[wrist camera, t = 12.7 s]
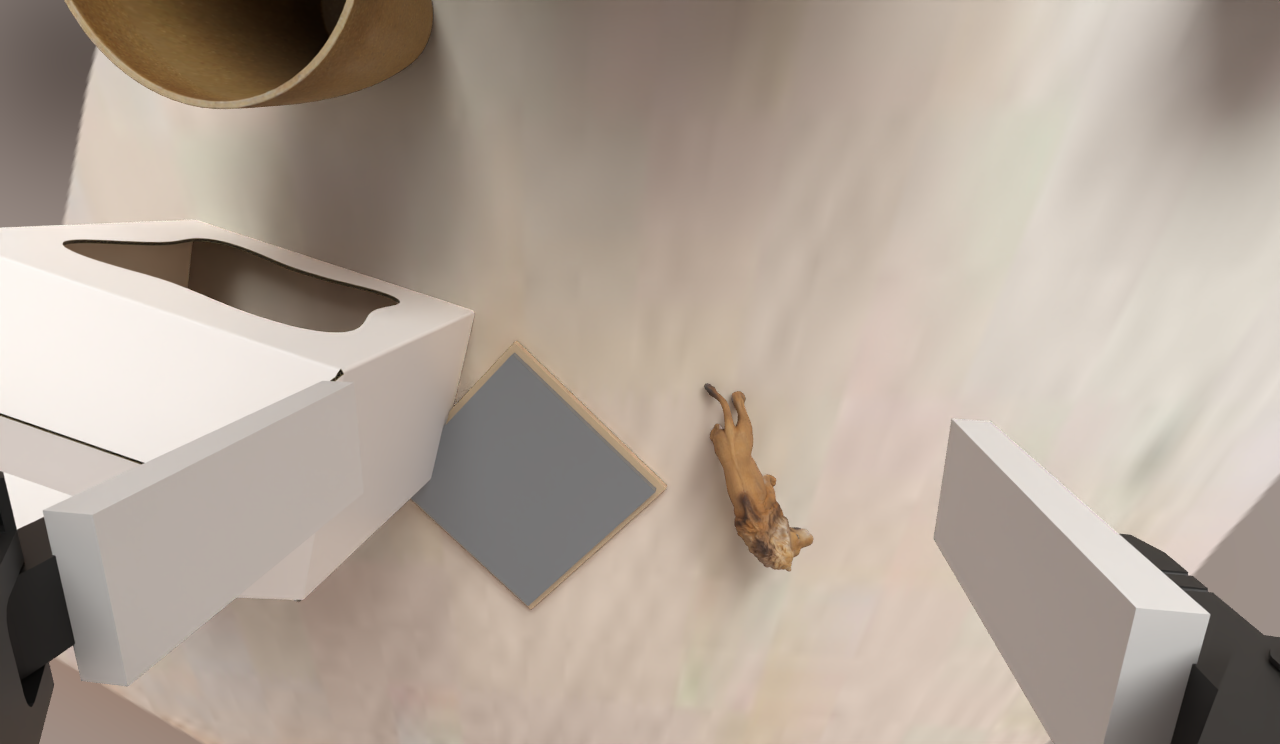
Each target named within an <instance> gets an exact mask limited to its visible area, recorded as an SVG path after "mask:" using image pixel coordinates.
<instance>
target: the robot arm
mask: <svg viewBox="0 0 1280 744" xmlns="http://www.w3.org/2000/svg"><path fill="white" fill-rule="evenodd" d="M363 493H364V488H363V477H362V466H361V455H360V444H359V433H358V422H357V411H356V400H355V389H354V382H337V381H321V382H319V383H316V384H314V385H312V386H310V387H308V388H306V389H303V390H301V391H299V392H297V393H295V394H293V395H290V396H288V397H286V398H284V399H282V400H280V401H278V402H275V403H273V404H271V405H269V406H267V407H265V408H262V409H260V410H258V411H256V412H254V413H252V414H249V415H247V416H245V417H243V418H241V419H239V420H236V421H234V422H232V423H230V424H228V425H226V426H224V427H221V428H219V429H217V430H215V431H213V432H211V433H208V434H206V435H204V436H202V437H200V438H198V439H195V440H193V441H191V442H189V443H187V444H185V445H182V446H180V447H178V448H176V449H174V450H172V451H169V452H167V453H165V454H163V455H161V456H159V457H157V458H154V459H152V460H150V461H148V462H146V463H144V464H141V465H139V466H137V467H135V468H133V469H131V470H128V471H126V472H124V473H122V474H120V475H118V476H115V477H113V478H111V479H109V480H107V481H105V482H103V483H100V484H98V485H96V486H94V487H92V488H90V489H87V490H85V491H83V492H81V493H79V494H77V495H74V496H72V497H70V498H68V499H66V500H64V501H61V502H59V503H57V504H55V505H53V506H51V507H49V508H46V509H44V510H42V511H43V515H44V517H42V518H40V519H38V520H36V521H34V522H32V523H30V524H28V525H25V526H23V527H21V528H19V529H17V527H16V523H15V519H14V515H13V511H12V506H11V502H10V498H9V494H8V490H7V486H6V481H5V477H4V473H3V472H2V471H0V744H39V742H40V738H41V733H42V730H43V726H44V722H45V718H46V714H47V711H48V707H49V703H50V699H51V695H52V691H53V687H54V683H53V678H52V673H51V669H50V665H49V661H51V660H52V659H53V658H55V657H57V656H58V655H60V654H61V653H62V652H64V651H65V650H67V649H68V648H70V647H71V646H73V647H74V651H75V656H76V660H77V665H78V669H79V673H80V678H81V681H87V682H95V683H103V684H111V685H120V686H129V685H130V684H132V683H133V682H134V681H135V680H137V679H138V678H139V677H140V676H141V675H143V674H144V673H145V672H146V671H148V670H149V669H150V668H151V667H152V666H154V665H155V664H156V663H157V662H158V661H160V660H161V659H162V658H163V657H165V656H166V655H167V654H168V653H169V652H171V651H172V650H173V649H174V648H176V647H177V646H178V645H179V644H180V643H182V642H183V641H184V640H185V639H187V638H188V637H189V636H190V635H191V634H193V633H194V632H195V631H196V630H197V629H199V628H200V627H201V626H202V625H204V624H205V623H206V622H207V621H208V620H210V619H211V618H212V617H213V616H215V615H216V614H217V613H218V612H219V611H221V610H222V609H223V608H224V607H225V606H227V605H228V604H229V603H230V602H232V601H233V600H234V599H235V598H236V597H238V596H239V595H240V594H241V593H243V592H244V591H245V590H246V589H247V588H249V587H250V586H251V585H252V584H253V583H255V582H256V581H257V580H258V579H260V578H261V577H262V576H263V575H264V574H266V573H267V572H268V571H269V570H271V569H272V568H273V567H274V566H275V565H277V564H278V563H279V562H280V561H281V560H283V559H284V558H285V557H286V556H288V555H289V554H290V553H291V552H292V551H294V550H295V549H296V548H297V547H299V546H300V545H301V544H302V543H303V542H305V541H306V540H307V539H308V538H309V537H311V536H312V535H313V534H314V533H316V532H317V531H318V530H319V529H320V528H322V527H323V526H324V525H325V524H327V523H328V522H329V521H330V520H331V519H333V518H334V517H335V516H336V515H337V514H339V513H340V512H341V511H342V510H344V509H345V508H346V507H347V506H348V505H350V504H351V503H352V502H353V501H355V500H356V499H357V498H358V497H359V496H361V495H362V494H363ZM934 540H935V542H936V544H937V546H938V547H939V549H940V551H941V552H942V554H943V556H944V558H945V559H946V561H947V563H948V564H949V566H950V568H951V569H952V571H953V573H954V575H955V576H956V578H957V580H958V581H959V583H960V585H961V587H962V588H963V590H964V592H965V593H966V595H967V597H968V598H969V600H970V602H971V604H972V605H973V607H974V609H975V610H976V612H977V614H978V616H979V617H980V619H981V621H982V622H983V624H984V626H985V627H986V629H987V631H988V633H989V634H990V636H991V638H992V639H993V641H994V643H995V645H996V646H997V648H998V650H999V651H1000V653H1001V655H1002V657H1003V658H1004V660H1005V662H1006V663H1007V665H1008V667H1009V668H1010V670H1011V672H1012V674H1013V675H1014V677H1015V679H1016V680H1017V682H1018V684H1019V686H1020V687H1021V689H1022V691H1023V692H1024V694H1025V696H1026V697H1027V699H1028V701H1029V703H1030V704H1031V706H1032V708H1033V709H1034V711H1035V713H1036V715H1037V716H1038V718H1039V720H1040V721H1041V723H1042V725H1043V726H1044V728H1045V730H1046V732H1047V733H1048V735H1049V737H1050V738H1051V740H1052V742H1053V743H1054V744H1280V637H1273V636H1266V635H1263V634H1262V633H1261V632H1259V631H1258V630H1257V629H1256V628H1255V627H1253V626H1252V625H1251V624H1250V623H1249V622H1247V621H1246V620H1245V619H1244V618H1243V617H1241V616H1240V615H1239V614H1238V613H1237V612H1235V611H1234V610H1233V609H1232V608H1231V607H1229V606H1228V605H1227V604H1226V603H1224V602H1223V601H1222V600H1221V599H1220V598H1218V597H1217V596H1216V595H1215V594H1214V593H1211V592H1208V589H1207V588H1206V587H1205V586H1204V585H1203V584H1202V583H1201V582H1199V581H1198V580H1197V579H1196V578H1194V577H1193V576H1188V572H1187V571H1186V570H1185V569H1184V568H1182V567H1181V566H1180V565H1179V564H1178V563H1176V562H1175V561H1174V560H1173V559H1172V558H1170V557H1169V556H1168V555H1167V554H1166V553H1164V552H1163V551H1161V550H1159V549H1157V548H1155V547H1153V546H1151V545H1149V544H1147V543H1145V542H1143V541H1141V540H1139V539H1138V538H1136V537H1134V536H1132V535H1127V534H1118V533H1117V532H1116V531H1115V530H1114V529H1113V528H1112V527H1110V526H1109V525H1108V524H1107V523H1106V522H1105V521H1104V520H1103V519H1101V518H1100V517H1099V516H1098V515H1097V514H1096V513H1095V512H1093V511H1092V510H1091V509H1090V508H1089V507H1088V506H1087V505H1085V504H1084V503H1083V502H1082V501H1081V500H1080V499H1079V498H1078V497H1076V496H1075V495H1074V494H1073V493H1072V492H1071V491H1070V490H1068V489H1067V488H1066V487H1065V486H1064V485H1063V484H1062V483H1061V482H1059V481H1058V480H1057V479H1056V478H1055V477H1054V476H1053V475H1051V474H1050V473H1049V472H1048V471H1047V470H1046V469H1045V468H1043V467H1042V466H1041V465H1040V464H1039V463H1038V462H1037V461H1036V460H1034V459H1033V458H1032V457H1031V456H1030V455H1029V454H1028V453H1026V452H1025V451H1024V450H1023V449H1022V448H1021V447H1020V446H1018V445H1017V444H1016V443H1015V442H1014V441H1013V440H1012V439H1011V438H1009V437H1008V436H1007V435H1006V434H1005V433H1004V432H1003V431H1001V430H1000V429H999V428H998V427H997V426H996V425H995V424H993V423H992V422H991V421H983V420H966V419H951V426H950V433H949V439H948V446H947V453H946V459H945V466H944V473H943V479H942V486H941V492H940V499H939V506H938V512H937V519H936V526H935V532H934Z"/></svg>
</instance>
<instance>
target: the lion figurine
mask: <svg viewBox="0 0 1280 744" xmlns="http://www.w3.org/2000/svg"><path fill="white" fill-rule="evenodd" d="M704 387H705V389H706V390H707V391H708V393H709V395H710V396H712V397H714V398H715V399H717V400H718V401H719V402H720V404H721V406H722V408H723V412H724V420H725V429H723V428H722V427H721V426H720V424H716V425H715V426H714V428H713V429H712V431H711V434H710V439H711V440H712V441H713V444H714V448H715V453H716V455H717V456H718V458H719V460H720V462H721V464H722V466H723V469H724V473H725V480H726V485H727V490H728V494H729V497H730V499H731V502H732V504H733V506H734V513H735V516H736V518H735V527H736V530H737V532H738V535H739V536H740V537H742V539H743V540H744V542H745V544H746V545H747V546H748V548H749V551H750V552H751V553H753V554H754V556H756V557H757V558H758V560H759V561H760V562H761V563H763V564H764V566H765V567H771V568H773V569H778V570H780V569H786V570H787V571H791V564H792V563H791V562H792V560H793V557H795V556H797V555H798V554H799V552H800V549H801V548H803V547H806V546H809V545H811V544H812V543H813V536H812V535H811V534H810V533H809V531H808V530H806V529H801V528H791V527H789V524H788V520H787V518H786V517H784V516H783V512H782V509H781V508H780V505H779V504H778V503H777V502H776V499H775V491H774V488H773V486H775V484H776V478H774V477H773V476H771V475H768V474H766V475H763V476H762V475H761V473H760V471H759V469H758V467H757V465H756V463H755V461H754V460H753V458H752V457H751V451H752V447H753V434H752V426H751V422H750V419H749V417H748V415H747V412H746V409H745V406H744V402H745V396H744V394H743V393H742V392H740V391H737V392H734V393H733V394H732V402H733V404H734V406H735V408H736V410H737V413H738V422H737V424H736V426H735V425H734V423H733V420H732V415H731V411H730V408H729V405H728V403H727V401H726V400H725V399H724V398H723V397H722V396H721V395H720V394H719V393H718V392H717V391H716V389H715V387H713V386H711V385H710V384H708V383H706V384H705V385H704Z"/></svg>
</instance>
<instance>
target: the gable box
mask: <svg viewBox="0 0 1280 744" xmlns="http://www.w3.org/2000/svg"><path fill="white" fill-rule="evenodd" d="M194 241H201V242H212V243H218V244H223V245H227V246H230V247H234V248H237V249H240V250H243V251H245V252H248V253H251V254H253V255H256V256H258V257H261V258H263V259H265V260H268V261H270V262H272V263H275V264H277V265H280V266H282V267H285V268H287V269H290V270H293V271H296V272H299V273H302V274H305V275H308V276H311V277H315V278H318V279H321V280H325V281H329V282H332V283H336V284H340V285H344V286H348V287H353V288H357V289H361V290H365V291H369V292H372V293H376V294H379V295H382V296H385V297H388V298H390V299H392V300H394V301H396V302H398V303H399V304H397V305H394V306H389V307H384V308H380V309H376V310H374V311H372V312H371V313H370V314H369V315H368V317H367V318H366V320H365V322H364V323H363V325H362V326H360V327H359V328H357V329H355V330H353V331H348V332H322V331H314V330H308V329H303V328H298V327H294V326H290V325H286V324H283V323H279V322H276V321H272V320H269V319H266V318H263V317H259V316H256V315H253V314H250V313H247V312H245V311H242V310H239V309H236V308H234V307H231V306H229V305H226V304H224V303H221V302H219V301H216V300H214V299H211V298H209V297H207V296H204V295H202V294H199V293H197V292H195V291H192V290H190V289H187V288H188V279H189V270H190V261H191V252H192V243H193V242H194ZM474 316H475V313H474V311H473V310H471V309H468V308H465V307H462V306H459V305H456V304H453V303H450V302H447V301H444V300H440V299H437V298H434V297H431V296H428V295H425V294H422V293H419V292H416V291H413V290H410V289H407V288H404V287H401V286H398V285H395V284H391V283H388V282H385V281H382V280H379V279H376V278H373V277H370V276H367V275H364V274H361V273H358V272H355V271H352V270H349V269H345V268H342V267H339V266H336V265H333V264H330V263H327V262H324V261H321V260H318V259H315V258H312V257H309V256H306V255H303V254H299V253H296V252H293V251H290V250H287V249H284V248H281V247H278V246H275V245H272V244H269V243H266V242H263V241H260V240H257V239H253V238H250V237H247V236H244V235H241V234H238V233H235V232H232V231H229V230H226V229H223V228H220V227H217V226H214V225H211V224H208V223H204V222H201V221H198V220H195V219H193V220H170V221H147V222H123V223H100V224H77V225H53V226H32V227H7V228H0V471H2V472H3V473H4V477H5V481H6V486H7V490H8V494H9V498H10V502H11V506H12V511H13V515H14V519H15V523H16V527H17V529H19V528H21V527H23V526H25V525H28V524H30V523H32V522H34V521H36V520H38V519H40V518H42V517H44V515H43V511H42V510H44V509H46V508H49V507H51V506H53V505H55V504H57V503H59V502H61V501H64V500H66V499H68V498H70V497H72V496H74V495H77V494H79V493H81V492H83V491H85V490H87V489H90V488H92V487H94V486H96V485H98V484H100V483H103V482H105V481H107V480H109V479H111V478H113V477H115V476H118V475H120V474H122V473H124V472H126V471H128V470H131V469H133V468H135V467H137V466H139V465H141V464H144V463H146V462H148V461H150V460H152V459H154V458H157V457H159V456H161V455H163V454H165V453H167V452H169V451H172V450H174V449H176V448H178V447H180V446H182V445H185V444H187V443H189V442H191V441H193V440H195V439H198V438H200V437H202V436H204V435H206V434H208V433H211V432H213V431H215V430H217V429H219V428H221V427H224V426H226V425H228V424H230V423H232V422H234V421H236V420H239V419H241V418H243V417H245V416H247V415H249V414H252V413H254V412H256V411H258V410H260V409H262V408H265V407H267V406H269V405H271V404H273V403H275V402H278V401H280V400H282V399H284V398H286V397H288V396H290V395H293V394H295V393H297V392H299V391H301V390H303V389H306V388H308V387H310V386H312V385H314V384H316V383H319V382H321V381H337V382H354V389H355V400H356V411H357V422H358V433H359V444H360V455H361V466H362V477H363V488H364V493H363V494H362V495H361V496H359V497H358V498H357V499H356V500H355V501H353V502H352V503H351V504H350V505H348V506H347V507H346V508H345V509H344V510H342V511H341V512H340V513H339V514H337V515H336V516H335V517H334V518H333V519H331V520H330V521H329V522H328V523H327V524H325V525H324V526H323V527H322V528H320V529H319V530H318V531H317V532H316V533H314V534H313V535H312V536H311V537H309V538H308V539H307V540H306V541H305V542H303V543H302V544H301V545H300V546H299V547H297V548H296V549H295V550H294V551H292V552H291V553H290V554H289V555H288V556H286V557H285V558H284V559H283V560H281V561H280V562H279V563H278V564H277V565H275V566H274V567H273V568H272V569H271V570H269V571H268V572H267V573H266V574H264V575H263V576H262V577H261V578H260V579H258V580H257V581H256V582H255V583H253V584H252V585H251V586H250V587H249V588H247V589H246V590H245V591H244V592H243V593H241V594H240V595H239V596H238V597H236V598H261V599H287V600H294V601H297V602H299V601H301V600H304V599H305V598H306V597H307V596H308V595H309V594H310V593H311V592H312V591H313V590H314V589H315V588H316V587H317V586H318V585H319V584H320V583H322V582H323V581H324V580H325V579H326V578H327V577H328V576H329V575H330V574H331V573H332V572H333V571H334V570H335V569H336V568H337V567H338V566H339V565H341V564H342V563H343V562H344V561H345V560H346V559H347V558H348V557H349V556H350V555H351V554H352V553H353V552H354V551H355V550H356V549H357V548H358V547H360V546H361V545H362V544H363V543H364V542H365V541H366V540H367V539H368V538H369V537H370V536H371V535H372V534H373V533H374V532H375V531H376V530H377V529H379V528H380V527H381V526H382V525H383V524H384V523H385V522H386V521H387V520H388V519H389V518H390V517H391V516H392V515H393V514H394V513H395V512H397V511H398V510H399V509H400V508H401V507H402V506H403V505H404V504H405V503H406V502H407V501H408V500H409V499H410V498H411V497H412V496H413V495H414V494H416V493H417V492H418V491H419V490H420V489H421V488H422V487H423V486H424V485H425V484H426V483H427V482H428V481H429V480H430V479H431V476H432V472H433V468H434V463H435V459H436V455H437V450H438V446H439V442H440V438H441V433H442V429H443V427H444V426H445V425H446V423H447V419H448V415H449V411H450V410H451V409H452V408H453V406H454V401H455V397H456V393H457V389H458V384H459V380H460V376H461V371H462V367H463V363H464V359H465V354H466V350H467V346H468V342H469V337H470V333H471V329H472V324H473V320H474Z"/></svg>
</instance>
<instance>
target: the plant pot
mask: <svg viewBox="0 0 1280 744" xmlns="http://www.w3.org/2000/svg"><path fill="white" fill-rule="evenodd" d="M64 1H65V2H66V4H67V6H68V8H69V9H70V11H71V12H72V14H73V16H74V17H75V18H76V20H77V22H78V23H79V25H80V26H81V28H82V29H83V31H84V32H85V33H86V35H87V36H88V37H89V38H90V39H91V41H93V43H94V44H95V45H96V46H97V47H98V48H99V50H100V51H101V52H102V53H103V54H104V55H105V56H106V57H107V58H108V59H109V60H110V61H111V62H112V63H114V64H115V65H116V66H117V67H118V68H119V69H121V70H122V71H123V72H124V73H125V74H127V75H128V76H130V77H131V78H133V79H134V80H135V81H137V82H138V83H140V84H142V85H143V86H145V87H147V88H148V89H150V90H152V91H154V92H156V93H158V94H160V95H162V96H165V97H167V98H170V99H172V100H175V101H178V102H181V103H184V104H188V105H192V106H197V107H202V108H212V109H236V108H254V107H268V106H280V105H291V104H300V103H307V102H314V101H319V100H324V99H329V98H334V97H338V96H342V95H346V94H349V93H352V92H356V91H359V90H362V89H365V88H367V87H370V86H373V85H375V84H377V83H379V82H381V81H384V80H386V79H388V78H390V77H391V76H393V75H395V74H397V73H398V72H400V71H401V70H403V69H404V68H406V67H407V66H409V65H410V64H411V63H412V62H414V61H415V60H416V59H417V58H418V56H419V55H420V54H421V53H422V51H423V50H424V48H425V46H426V44H427V42H428V39H429V36H430V33H431V28H432V22H433V7H432V1H431V0H64Z"/></svg>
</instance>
